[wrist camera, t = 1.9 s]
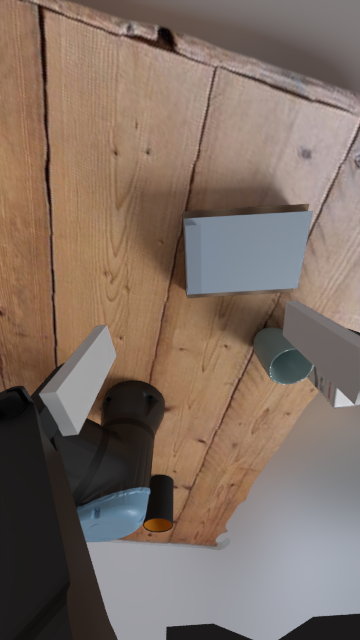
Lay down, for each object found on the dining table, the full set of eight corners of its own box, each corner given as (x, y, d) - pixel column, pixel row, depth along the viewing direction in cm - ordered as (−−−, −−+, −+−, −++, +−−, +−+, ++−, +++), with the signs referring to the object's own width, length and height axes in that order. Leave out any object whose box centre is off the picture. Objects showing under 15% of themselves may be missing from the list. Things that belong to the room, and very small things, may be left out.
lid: (186, 292, 33) (188, 300, 29) (183, 219, 28) (184, 216, 24) (293, 286, 33) (309, 293, 29) (307, 211, 28) (329, 208, 24)
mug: (148, 494, 66) (143, 538, 57) (148, 474, 62) (143, 518, 52) (172, 495, 67) (171, 538, 57) (174, 474, 62) (173, 518, 52)
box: (185, 290, 37) (186, 298, 33) (182, 214, 32) (183, 211, 28) (279, 285, 37) (292, 292, 33) (291, 207, 32) (309, 203, 28)
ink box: (297, 336, 42) (340, 373, 31) (321, 332, 42) (372, 367, 31) (296, 368, 45) (334, 410, 35) (318, 364, 45) (364, 405, 34)
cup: (247, 354, 44) (266, 386, 34) (249, 323, 40) (270, 350, 31) (282, 351, 43) (310, 383, 34) (286, 320, 40) (319, 345, 31)
